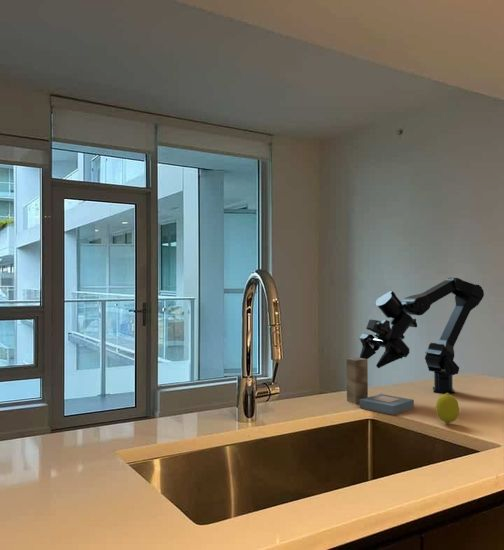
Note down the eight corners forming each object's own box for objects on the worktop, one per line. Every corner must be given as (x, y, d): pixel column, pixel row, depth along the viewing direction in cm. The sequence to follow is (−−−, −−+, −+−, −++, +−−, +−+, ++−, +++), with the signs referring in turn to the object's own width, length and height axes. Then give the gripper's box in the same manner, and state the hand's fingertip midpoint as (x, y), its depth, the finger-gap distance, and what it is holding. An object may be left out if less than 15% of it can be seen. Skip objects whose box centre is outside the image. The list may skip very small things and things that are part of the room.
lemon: (462, 427, 129) (462, 395, 130) (440, 427, 130) (440, 395, 130) (454, 421, 135) (454, 390, 135) (433, 421, 135) (432, 390, 135)
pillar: (359, 399, 161) (358, 357, 161) (367, 402, 157) (367, 359, 157) (346, 400, 159) (346, 358, 159) (355, 403, 155) (355, 360, 155)
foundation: (381, 401, 157) (381, 393, 157) (413, 408, 149) (413, 399, 149) (359, 407, 150) (359, 398, 150) (392, 414, 142) (392, 405, 142)
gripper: (364, 309, 171) (335, 344, 166) (401, 311, 154) (371, 351, 149) (383, 332, 174) (356, 367, 169) (422, 337, 157) (393, 376, 152)
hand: (368, 364), depth 160 cm, fingers open, 9 cm apart
